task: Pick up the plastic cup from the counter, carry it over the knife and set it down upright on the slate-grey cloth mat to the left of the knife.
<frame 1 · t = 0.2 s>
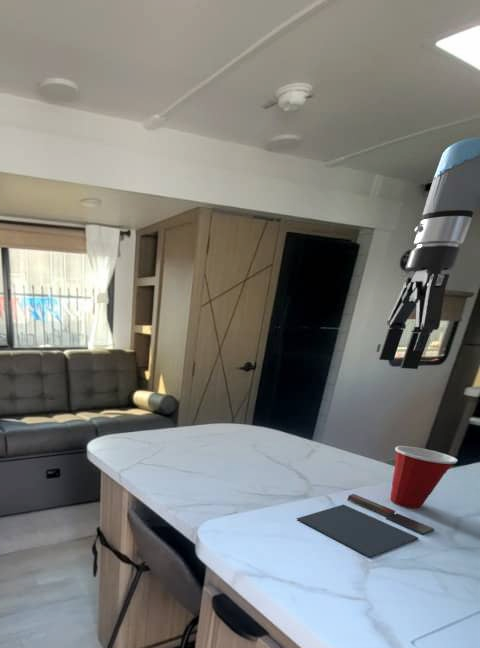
hand: (396, 364, 86), 28 cm above the table, tool pointing down, fingers open, 13 cm apart
plastic cup: (405, 503, 91), on the table
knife: (386, 514, 85), on the table
cloth mat: (354, 528, 79), on the table
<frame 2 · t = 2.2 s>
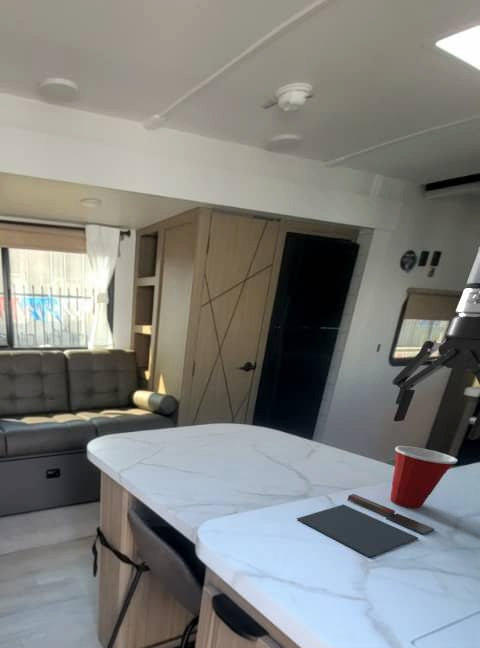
hand: (433, 429, 83), 17 cm above the table, tool pointing down, fingers open, 13 cm apart
nothing on the table moved.
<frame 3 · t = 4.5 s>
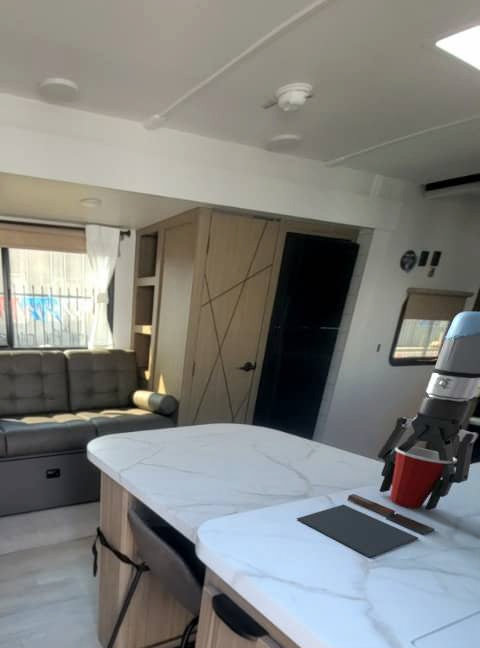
hand: (406, 499, 90), 1 cm above the table, tool pointing down, fingers closed on plastic cup, 9 cm apart
plastic cup: (405, 503, 91), on the table, touching gripper
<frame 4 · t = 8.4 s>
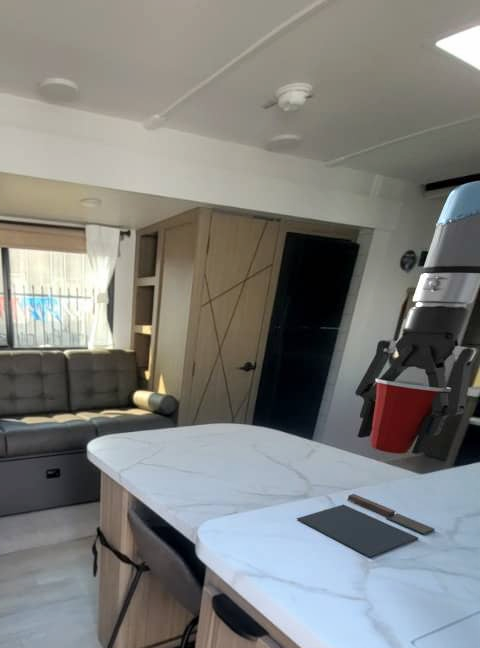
hand: (389, 443, 73), 17 cm above the table, tool pointing down, fingers closed on plastic cup, 9 cm apart
plastic cup: (388, 449, 74), point 16 cm above the table, touching gripper
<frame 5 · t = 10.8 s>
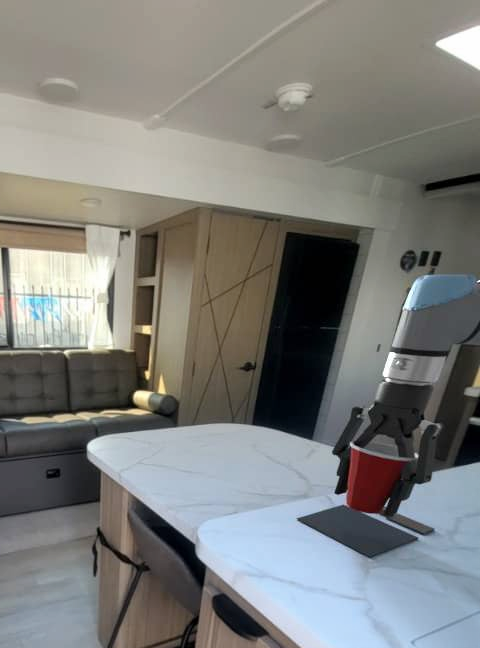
hand: (363, 502, 77), 6 cm above the table, tool pointing down, fingers closed on plastic cup, 9 cm apart
plastic cup: (363, 507, 77), point 5 cm above the table, touching gripper
when the fingers open (1 cm above the table, at t = 12.5 s): plastic cup stays where it is, resting on cloth mat.
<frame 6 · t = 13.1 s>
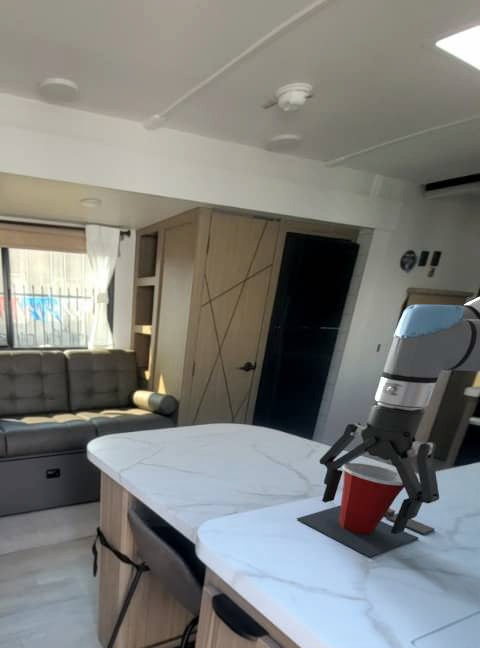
hand: (360, 515, 78), 3 cm above the table, tool pointing down, fingers open, 13 cm apart
plastic cup: (356, 527, 79), resting on cloth mat
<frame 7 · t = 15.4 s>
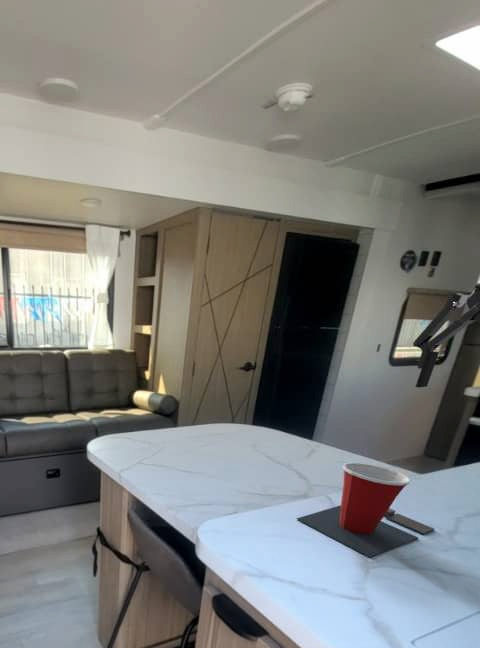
hand: (462, 393, 74), 25 cm above the table, tool pointing down, fingers open, 13 cm apart
nothing on the table moved.
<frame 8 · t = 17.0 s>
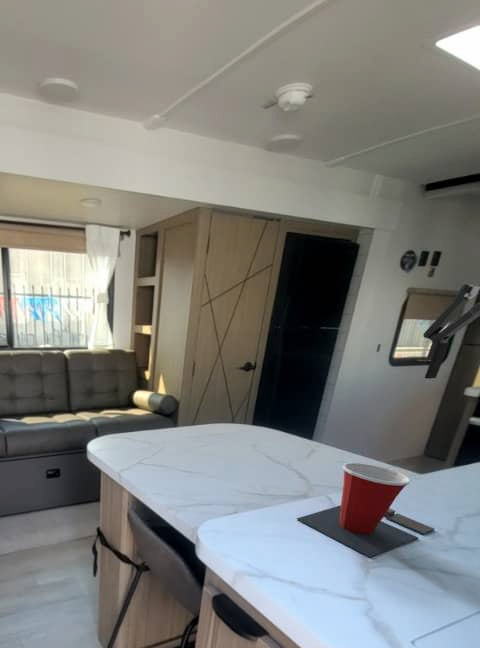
hand: (470, 384, 75), 27 cm above the table, tool pointing down, fingers open, 13 cm apart
nothing on the table moved.
at the end: plastic cup inside the target area on the cloth mat (0.4 cm from its centre), point 0.1 cm above the cloth mat's base; plastic cup inside the target area on the table beside the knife (0.9 cm from its centre), resting on cloth mat; plastic cup tilted 0° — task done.
